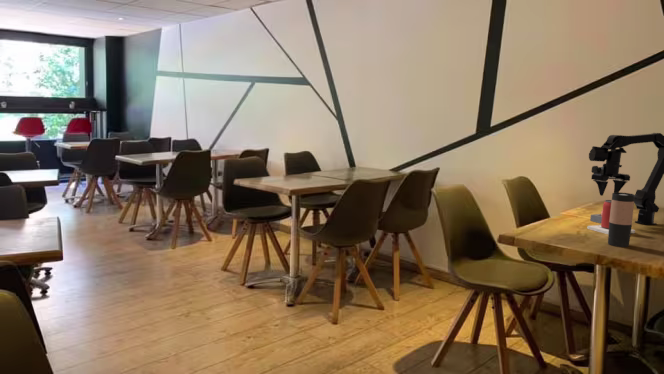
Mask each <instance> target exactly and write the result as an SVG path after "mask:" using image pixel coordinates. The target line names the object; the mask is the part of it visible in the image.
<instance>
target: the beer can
mask: <svg viewBox="0 0 664 374" xmlns="http://www.w3.org/2000/svg"><path fill="white" fill-rule="evenodd" d="M611 202H612V199H605V200H604V202H603V205H602V210H603V211H602V210H601V211H602V221H601V223H600V225H601V227H602V228H605V229H609V220H610V211H611Z"/></svg>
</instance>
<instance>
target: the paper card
mask: <svg viewBox="0 0 664 374" xmlns="http://www.w3.org/2000/svg"><path fill="white" fill-rule="evenodd" d="M587 229H588V230H591V231H595V232H598V233H600V234H601V233H602V234H605V235H608V234H609V229H605V228H602V227H601V224H599V225H587ZM635 233H636V230H635V229H632V228H631V234H635Z"/></svg>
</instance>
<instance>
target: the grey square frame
mask: <svg viewBox="0 0 664 374" xmlns="http://www.w3.org/2000/svg"><path fill="white" fill-rule="evenodd" d="M589 221H590V222H593V223H599V224H601V221H602V216H601V213H595V214H590V220H589Z"/></svg>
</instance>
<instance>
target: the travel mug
mask: <svg viewBox="0 0 664 374" xmlns="http://www.w3.org/2000/svg"><path fill="white" fill-rule="evenodd" d="M611 195H612V196H611V200H612V202H611V211H610V220H609V234H607V244H608V245H610V246H613V247H617V248H618V247H619V248H628V247H629V245H630V240H631V234H632V233H631V229H632V226H633V218H634V206H635V205H634V204H635V203H634V198H635V194H633V193H629V192H620V191H619V192H616V193H614V192H612V194H611Z"/></svg>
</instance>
